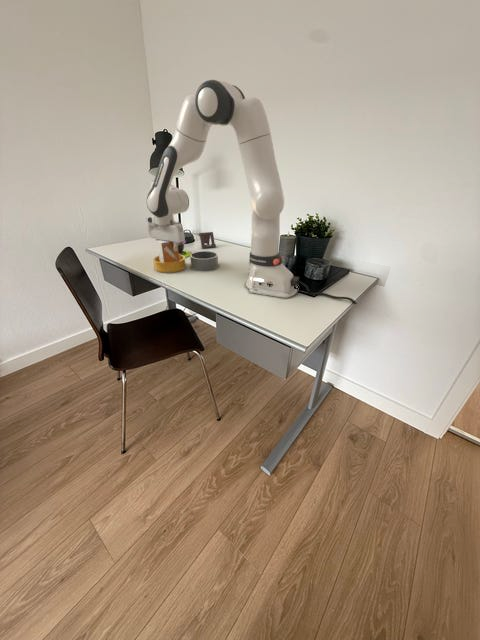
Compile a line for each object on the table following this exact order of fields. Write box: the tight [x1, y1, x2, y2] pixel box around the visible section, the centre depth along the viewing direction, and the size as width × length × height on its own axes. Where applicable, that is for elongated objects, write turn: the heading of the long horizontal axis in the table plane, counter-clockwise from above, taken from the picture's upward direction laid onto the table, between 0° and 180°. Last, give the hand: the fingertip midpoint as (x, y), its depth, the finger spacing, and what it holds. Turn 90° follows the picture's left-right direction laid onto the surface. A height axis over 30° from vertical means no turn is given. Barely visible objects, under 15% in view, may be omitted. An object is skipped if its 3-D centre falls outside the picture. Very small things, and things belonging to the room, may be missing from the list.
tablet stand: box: [198, 231, 217, 249], centre depth 166 cm, size 9×8×8 cm
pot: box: [189, 250, 219, 272], centre depth 133 cm, size 14×14×6 cm
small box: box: [156, 240, 180, 263], centre depth 129 cm, size 8×6×13 cm
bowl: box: [152, 255, 187, 274], centre depth 131 cm, size 15×15×5 cm
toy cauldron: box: [178, 240, 191, 258], centre depth 150 cm, size 15×15×11 cm
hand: (168, 249), depth 128 cm, fingers closed on small box, 7 cm apart
